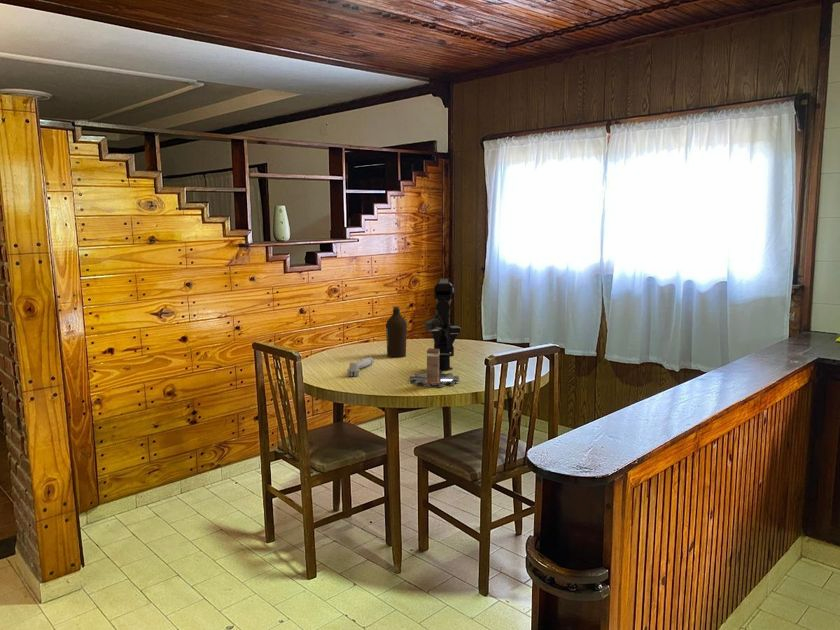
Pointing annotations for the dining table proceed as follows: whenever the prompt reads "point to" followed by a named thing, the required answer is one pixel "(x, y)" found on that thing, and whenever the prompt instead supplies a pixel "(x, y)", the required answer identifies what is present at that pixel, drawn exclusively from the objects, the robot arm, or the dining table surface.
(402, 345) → the olive oil
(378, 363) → the dining table surface
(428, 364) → the link block
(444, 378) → the sprocket plate
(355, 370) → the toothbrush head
